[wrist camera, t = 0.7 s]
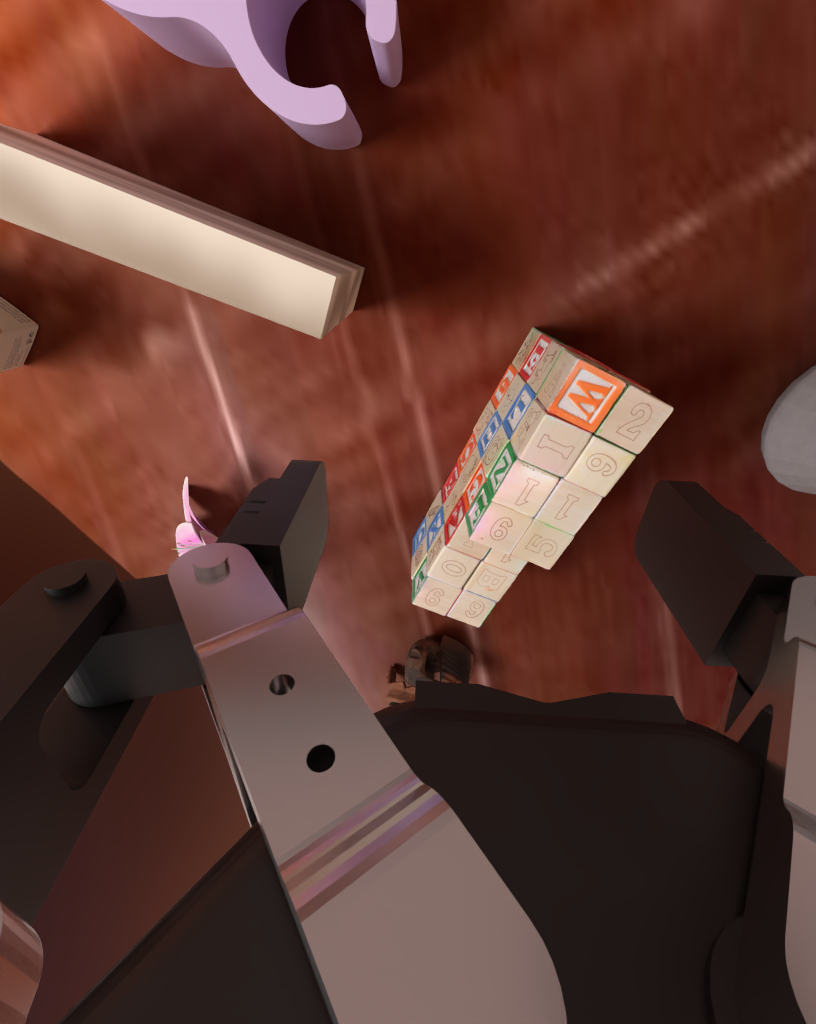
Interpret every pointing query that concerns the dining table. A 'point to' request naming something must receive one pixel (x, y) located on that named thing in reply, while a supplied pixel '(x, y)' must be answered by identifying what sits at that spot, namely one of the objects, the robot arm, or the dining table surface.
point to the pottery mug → (431, 667)
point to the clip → (268, 54)
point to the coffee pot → (793, 435)
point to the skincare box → (14, 336)
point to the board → (171, 235)
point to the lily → (191, 529)
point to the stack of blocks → (529, 475)
